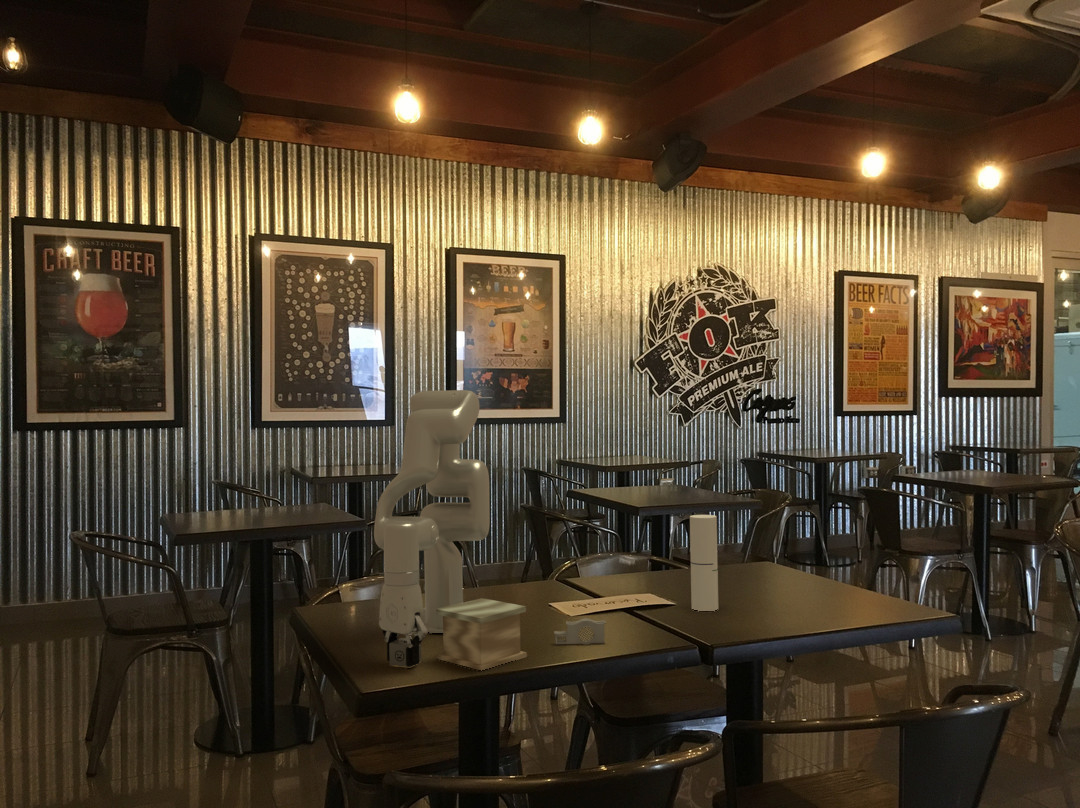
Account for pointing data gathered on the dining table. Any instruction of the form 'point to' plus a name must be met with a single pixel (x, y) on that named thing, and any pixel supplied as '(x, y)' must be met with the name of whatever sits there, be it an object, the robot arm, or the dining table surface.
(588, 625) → the garden wall model
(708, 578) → the cylindrical container
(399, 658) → the gray face cube
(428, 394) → the robot arm
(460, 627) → the display pedestal
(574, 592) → the dining table surface
